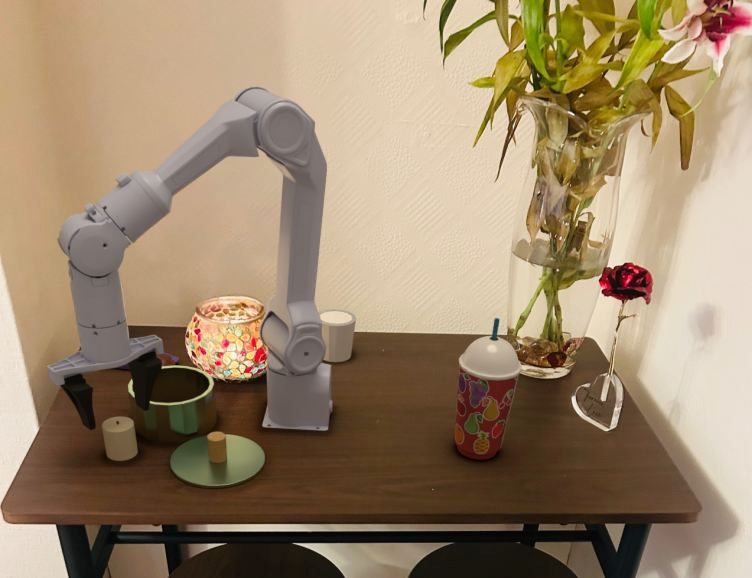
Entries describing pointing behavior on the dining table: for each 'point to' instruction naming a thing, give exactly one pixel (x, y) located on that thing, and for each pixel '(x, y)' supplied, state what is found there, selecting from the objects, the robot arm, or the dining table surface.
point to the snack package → (165, 358)
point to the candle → (119, 438)
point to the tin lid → (217, 461)
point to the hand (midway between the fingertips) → (116, 416)
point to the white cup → (337, 334)
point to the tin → (176, 405)
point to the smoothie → (485, 395)
